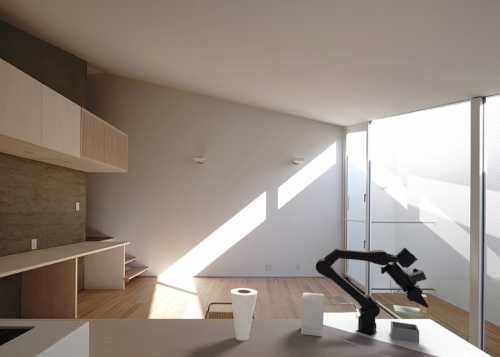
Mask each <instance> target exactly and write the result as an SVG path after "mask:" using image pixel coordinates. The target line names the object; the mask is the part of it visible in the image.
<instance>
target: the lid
mask: <svg viewBox="0 0 500 357" xmlns="http://www.w3.org/2000/svg"><path fill="white" fill-rule="evenodd" d="M422 297H423V298H424V300H425V301H426V303H427V302H428V297H427V295H426V294H422ZM427 304H428V303H427ZM392 307H393V309H394V312H395V313H397V314H398V315H404V316H409V317H410V316H412V317H417V318H418V317H425V314H427V310H428V307H427V308H426V307H424V306H422V305H420V304H419V307H412V306H404V305H397V304H396V305H395V304H393V305H392Z"/></svg>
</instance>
